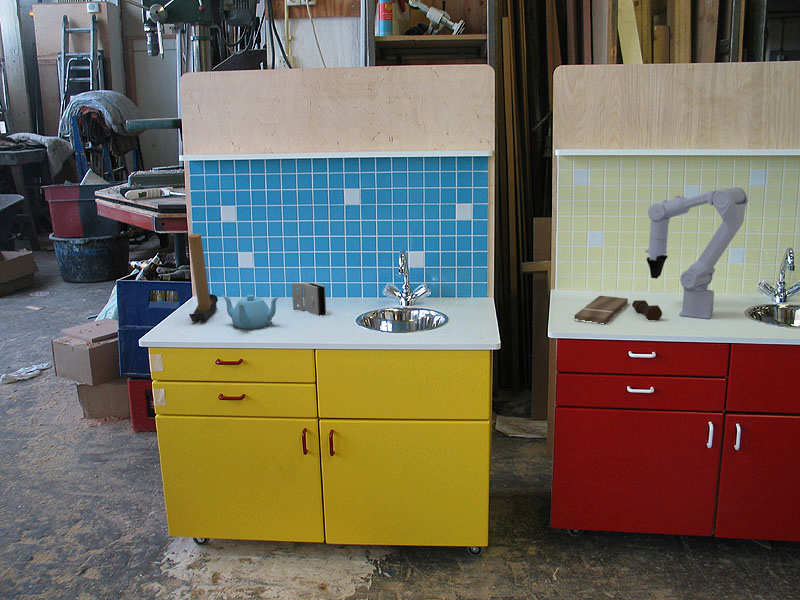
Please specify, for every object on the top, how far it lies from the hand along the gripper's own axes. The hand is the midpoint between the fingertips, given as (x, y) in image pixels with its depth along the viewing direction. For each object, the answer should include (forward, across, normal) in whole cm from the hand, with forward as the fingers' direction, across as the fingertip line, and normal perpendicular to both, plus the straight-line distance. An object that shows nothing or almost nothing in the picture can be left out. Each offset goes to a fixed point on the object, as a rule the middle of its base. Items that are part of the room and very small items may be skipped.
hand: (655, 277), depth 261 cm
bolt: (+11, +13, 0) cm, 17 cm away
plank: (+10, +16, -14) cm, 24 cm away
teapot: (+11, +83, -112) cm, 140 cm away
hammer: (+11, +81, -135) cm, 157 cm away
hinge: (+11, +60, -105) cm, 121 cm away
